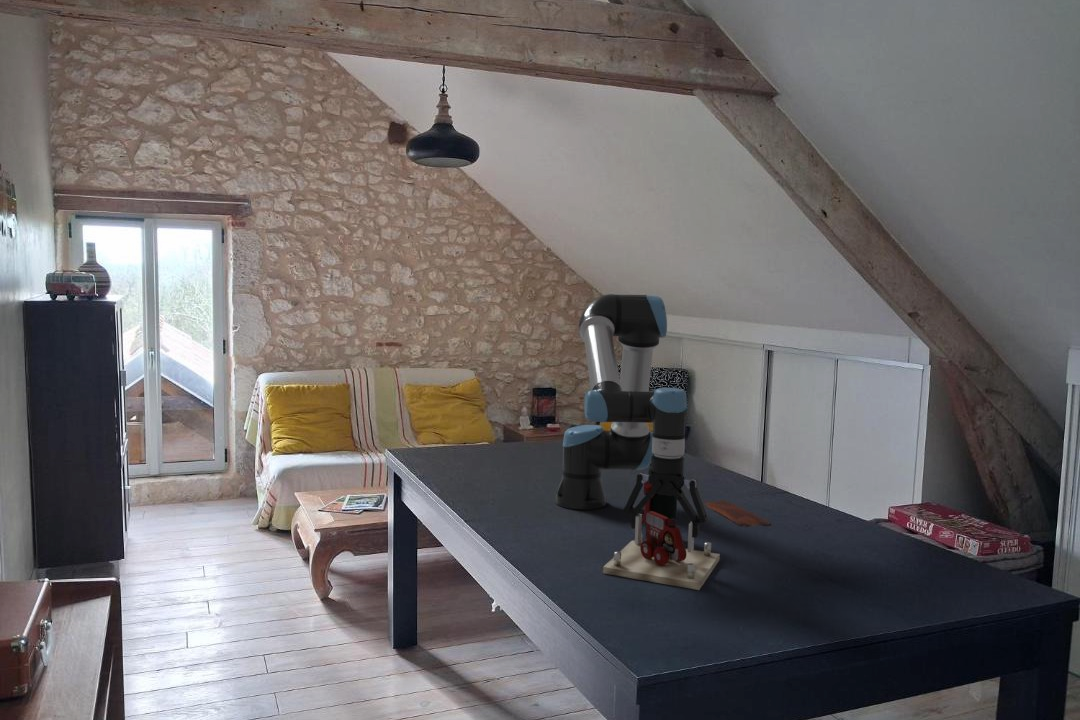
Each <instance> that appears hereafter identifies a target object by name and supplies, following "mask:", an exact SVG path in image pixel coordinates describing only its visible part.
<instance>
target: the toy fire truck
mask: <svg viewBox="0 0 1080 720" xmlns="http://www.w3.org/2000/svg"><path fill="white" fill-rule="evenodd" d="M646 522H647V539H646V540H644V541H642V543H641V547H640V550H641V553H642V555H643V557H644V558H646V559H649V558H653V557H654V560H655V562H656V563H657V564H658V565H660V566H662V565H666V564H667V563H668V560H672V559H673V560H675V561H683V560H685V558H686V549H687V548H686V547H685V545H684V541H683V538H682V535H681V530H680V528H679V527H678V526H677V519H676V520H675V519H669V518H668V517H666V516H663V515H661V514H658V513H656V512H654V511H650V512H647V514H646ZM675 526H676V527H675Z"/></svg>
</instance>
